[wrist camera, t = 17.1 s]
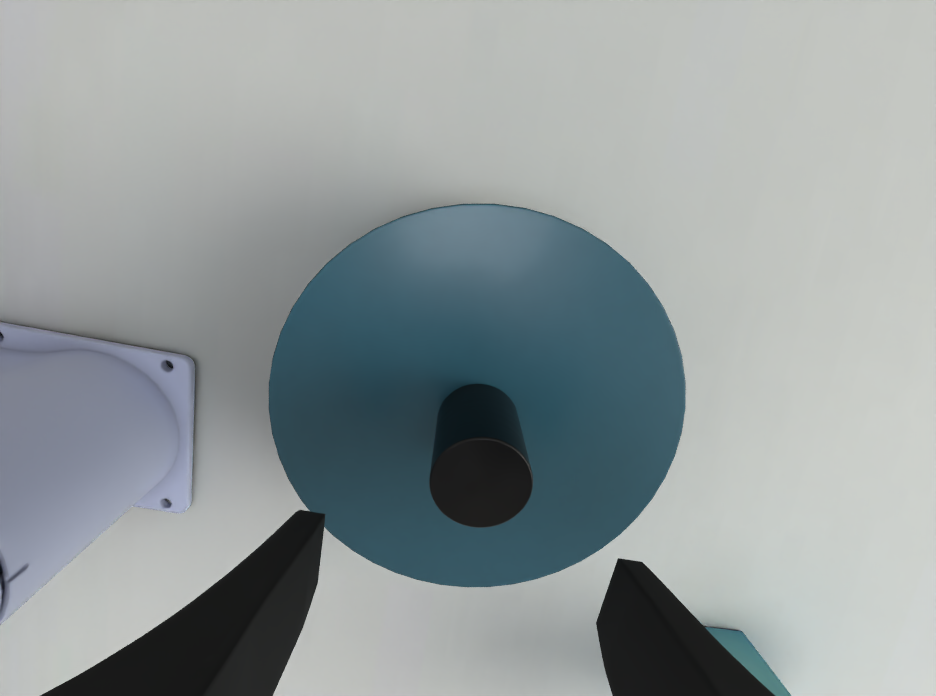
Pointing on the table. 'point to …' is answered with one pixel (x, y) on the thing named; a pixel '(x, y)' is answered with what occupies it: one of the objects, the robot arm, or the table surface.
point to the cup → (749, 658)
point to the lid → (477, 395)
